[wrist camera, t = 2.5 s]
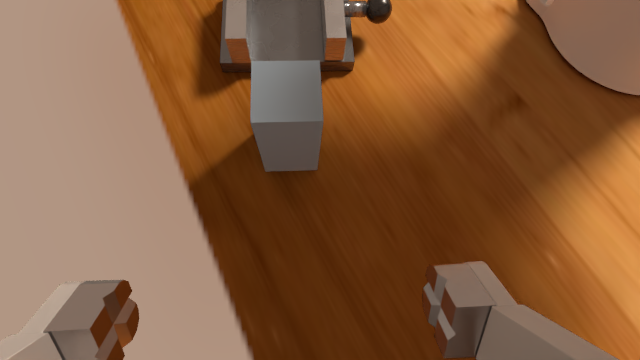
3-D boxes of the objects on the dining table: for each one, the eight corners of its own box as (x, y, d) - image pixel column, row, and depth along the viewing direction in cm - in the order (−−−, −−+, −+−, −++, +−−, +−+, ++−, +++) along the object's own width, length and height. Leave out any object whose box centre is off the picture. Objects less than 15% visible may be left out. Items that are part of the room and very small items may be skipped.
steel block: (265, 124, 27) (251, 61, 20) (314, 123, 28) (319, 60, 20) (265, 171, 26) (250, 122, 19) (317, 170, 26) (323, 121, 19)
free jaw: (319, -15, 30) (321, -43, 28) (382, -15, 31) (389, -42, 28) (324, 60, 28) (326, 37, 26) (393, 59, 28) (401, 37, 26)
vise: (226, -3, 31) (216, -43, 27) (345, -3, 32) (351, -42, 28) (223, 72, 29) (211, 38, 25) (352, 70, 29) (359, 37, 26)
